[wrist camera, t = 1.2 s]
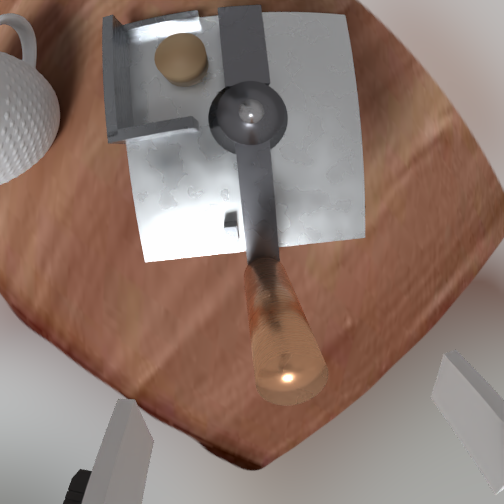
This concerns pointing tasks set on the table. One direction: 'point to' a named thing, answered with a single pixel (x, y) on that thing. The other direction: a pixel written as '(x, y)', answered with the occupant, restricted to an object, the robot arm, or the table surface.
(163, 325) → the table surface
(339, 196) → the grey flat slab fixture
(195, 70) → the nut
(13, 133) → the mug
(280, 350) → the lever
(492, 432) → the robot arm
